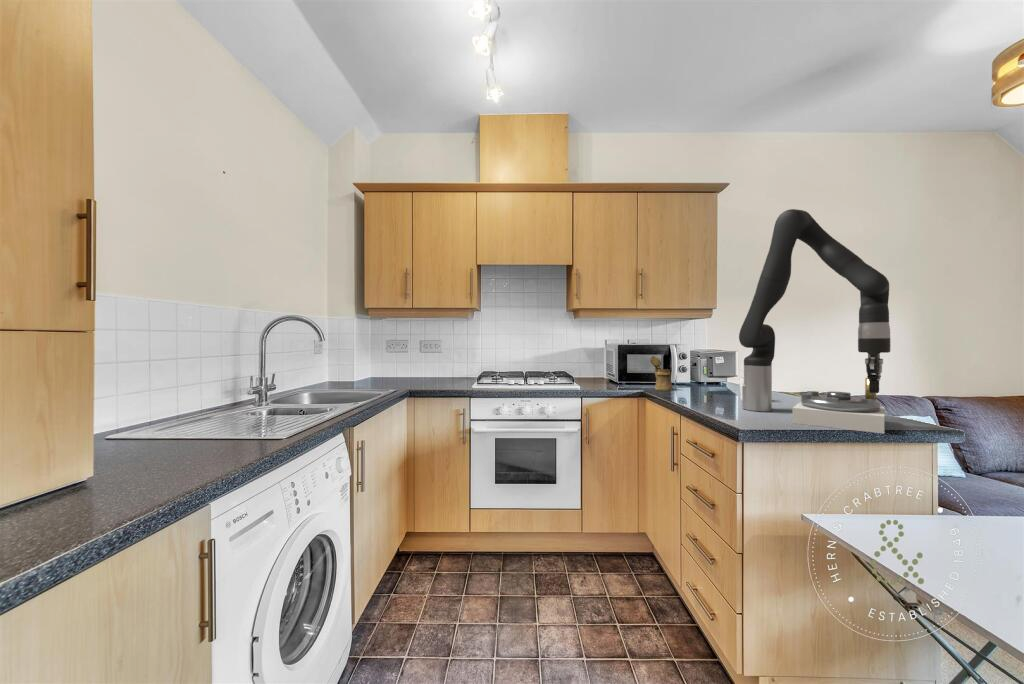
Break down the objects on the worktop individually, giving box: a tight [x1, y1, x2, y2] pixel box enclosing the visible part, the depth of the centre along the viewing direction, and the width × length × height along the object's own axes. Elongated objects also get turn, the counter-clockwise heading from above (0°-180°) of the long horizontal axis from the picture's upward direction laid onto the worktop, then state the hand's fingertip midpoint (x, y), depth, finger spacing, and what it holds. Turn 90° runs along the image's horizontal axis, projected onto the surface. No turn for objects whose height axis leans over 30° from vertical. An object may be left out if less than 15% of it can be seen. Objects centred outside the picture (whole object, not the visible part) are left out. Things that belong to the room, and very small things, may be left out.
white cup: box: [738, 376, 744, 401], centre depth 178 cm, size 8×8×10 cm
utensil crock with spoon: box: [650, 355, 674, 392], centre depth 217 cm, size 9×14×18 cm, turn 19°
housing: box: [792, 401, 885, 434], centre depth 131 cm, size 22×22×5 cm
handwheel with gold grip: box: [800, 377, 881, 412], centre depth 131 cm, size 20×20×10 cm
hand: (874, 392), depth 125 cm, fingers closed
